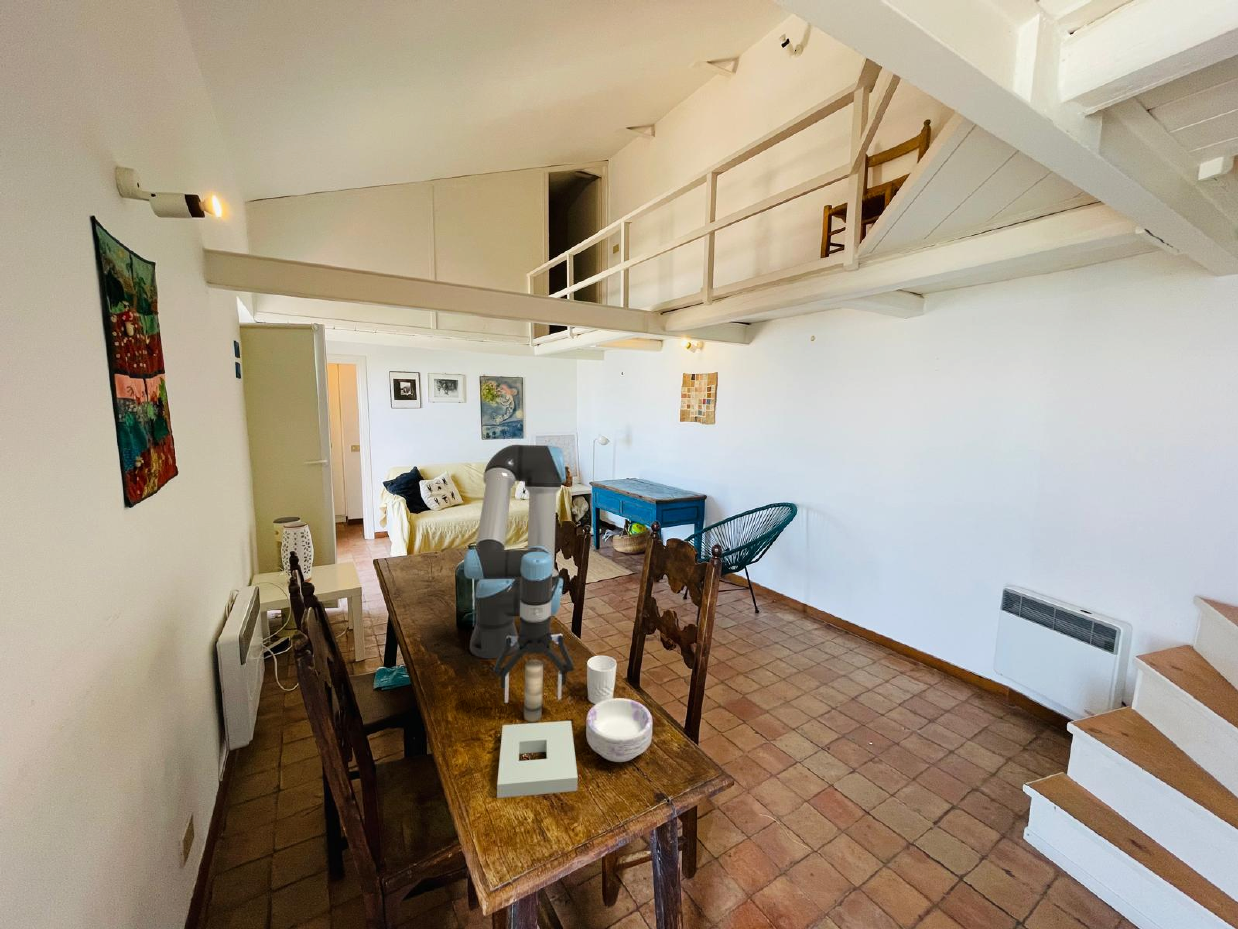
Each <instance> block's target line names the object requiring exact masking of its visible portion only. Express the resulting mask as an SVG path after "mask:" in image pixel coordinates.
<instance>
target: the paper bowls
mask: <svg viewBox="0 0 1238 929" xmlns="http://www.w3.org/2000/svg"><path fill="white" fill-rule="evenodd" d="M585 721H586V722H585V723H586V727H585V728H586V730H585V731H586V732H585V733H586V735H585V736H586V741H587V743H588V745H589V746H590V748H591V749H592V750H593V751H594V752H595V753H597V754H599V755H600V756H601V757H602V758H604V759H606V760H607V761H610V762H614V763H623V762H625V763H626V762H629V761H631V760H633V759H634V758H636V757H637V756H639V755H642V754H643V753H644V752H645V751H646V750H647V749H648V748H649V747H650V745H651V742H652V738H653V716H652V714H651V713H650V711H649V709H648V708H647V707H646V706H645V705H643V704H642V703H641V702H638V701H636V700H634V699H630V698H623V697H615V698H614V697H613V699H607V700H604V701H601V702H599V703H597V704H594V705H592V707H591V708H590V709H589V711H588V713H587V714H586V719H585Z"/></svg>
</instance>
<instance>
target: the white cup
mask: <svg viewBox="0 0 1238 929" xmlns="http://www.w3.org/2000/svg"><path fill="white" fill-rule="evenodd" d="M586 663H587V664H586V673H587V674H586V679H587V681H586V682H587V683H586V684H587V686H586V687H587V699H588V701H589V702H590V703H591V704H594V705H596V704H597V703H599V702H601V701H604V700H607V699H613V698H614V691H615V690H614V689H615V686H616V685H615V684H616V673H617V664H618V662H617V661H616V660H615V659H614V658H613V657H611V656H608V655H594V656H592V657H590V658H589V659H588V660H587V662H586Z"/></svg>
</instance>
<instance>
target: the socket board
mask: <svg viewBox="0 0 1238 929" xmlns="http://www.w3.org/2000/svg"><path fill="white" fill-rule="evenodd" d="M501 731H502V732H501V741H500V742H501V743H500V750H499V751H500V752H499V761H498V762H499V763H498V771H497V772H498V773H497V774H498V775H497V784H496V786H497V788H496V790H497V791H496V794H497V795H496V799H501V798H502V799H504V798H513V797H514V798H515V797H524V796H535V795H536V796H537V795H546V794H556V793H557V794H558V793H568V792H569V793H570V792H577V791H578V770H577V769H578V768H577V761H576V752H575V744H574V735H573V727H572V720H563V721H547V722H545V721H544V722H529V723H517V724H515V723H514V724H504V725H502V729H501ZM533 753H545V754H546V755H545V757H546V758H540V759H529V760H528V759H527V760H520V755H521V754H522V755H523V754H524V755H525V754H533Z"/></svg>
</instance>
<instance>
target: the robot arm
mask: <svg viewBox="0 0 1238 929" xmlns="http://www.w3.org/2000/svg"><path fill="white" fill-rule="evenodd" d="M564 455H565V454H564V450H563V449H562V448H561V447H560V446H556V445H534V444H533V445H532V444H530V445H529V444H512V445H511V444H510V445H508V446H505V447H503V448H502V449H500V450H498V452H496V453H495V454H494V455H493V456H492V457H491V458H490V459H489V461H488V463H487V465H486V466H485V469H484V472H483V478H482V480H483V483H484V484H485V487H484V494H483V500H482V505H481V506H482V507H481V512H480V519H479V523H478V524H479V526H478V532H477V537H476V542H475V548H472V549H468V550H466V552H465V555H464V558H463V559H464V562H463V572H464V576H465V578H466V579H470V580H478V581H477V583H476V592H475V608H476V609H475V625H474V629H473V631H472V634H471V638H470V640H469V651H470V653H471V654H472V655H474V656H475V657H479V658H482V659H497V660H496V662H495V664H494V666H493V671H492V675H494V676H498V677H500V689H501V690H502V689H504V703H506V704H507V703H509V691H510V690H509V689H510V686H509V685H510V684H509V683H510V681H509V680H510V671H511V670H512V669H513V667H514V666H515V665H516V664H517V663H518V662H519V660H521V658H523V657H524V655H525V654H527V655H533V654H536V655H541V654H542V653H543V654H544V655H545V656H546V657H548V658H549V659H550V661H551V662H552V663H553V665H555V667H556V668H557V670H558V671H557V700H562V686H565V685H566V684H567V674H568V673H569V672H574V671H575V668H574V662H573V660H572V658H571V655H570V653H569V651H568V649H567V647H566V645H565V643H564V637H563V632H561V631H558V633H557V634H552V633H551V627H552V626H551V625H552V624H551V623H552V618H551V617H553V616H556V615H557V614H558V612H559V610H560V605H561V600H562V594H563V586H564V579H563V578H562V577H559V576H560V575H559V574H560V573H559V571H558V570H557V569H556V568H555V548H556V545H555V544H556V515H557V514H556V513H557V512H556V511H557V493H558V492H559V491H560V490H561V489H562V484H565V483H566V482H567V477H566V475H567V474H566V466H565V456H564ZM516 482H524V489H526V491H528V517H527V518H528V525H527V530H528V531H527V549H506V541H507V529H508V521H509V514H510V513H509V512H510V502H511V496H512V488H513V487H514V486H515V484H516ZM514 617H519V633H518V631H517V629H516V628H517V627H516V625H515V622H514V621H515V618H514ZM552 641H554V644H556V645H557V646H558V648H559V651H560V653H561V655H562V657H563V660H564V662H565V663H564V662H563V661H562V659H561V658H560V657H559V656H558V654H556V652H555V651H554V650H553V649H552V648H551V647H552V646H551V645H550V644H551V643H552ZM511 654H513V655H511ZM510 655H511V657H510V658H509V659H508V660H507V662H505V660H506V658H507V657H508V656H510ZM504 662H505V663H504ZM503 664H504V665H503Z"/></svg>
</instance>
